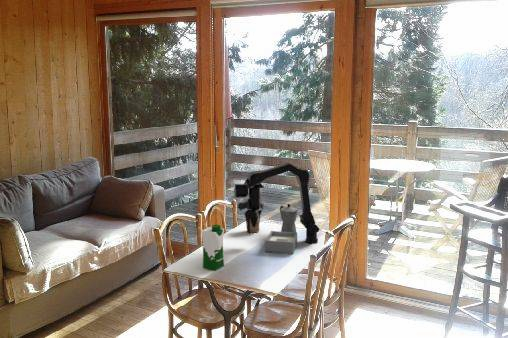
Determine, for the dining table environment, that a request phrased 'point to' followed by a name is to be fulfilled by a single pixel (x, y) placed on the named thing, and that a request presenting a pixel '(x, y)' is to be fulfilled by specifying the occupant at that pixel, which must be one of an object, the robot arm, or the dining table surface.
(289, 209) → the coffeepot
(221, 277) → the dining table surface
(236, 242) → the dining table surface
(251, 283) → the dining table surface
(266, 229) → the dining table surface
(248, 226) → the coffee mug
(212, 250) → the milk carton
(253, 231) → the peg
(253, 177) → the robot arm
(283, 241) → the bore box
